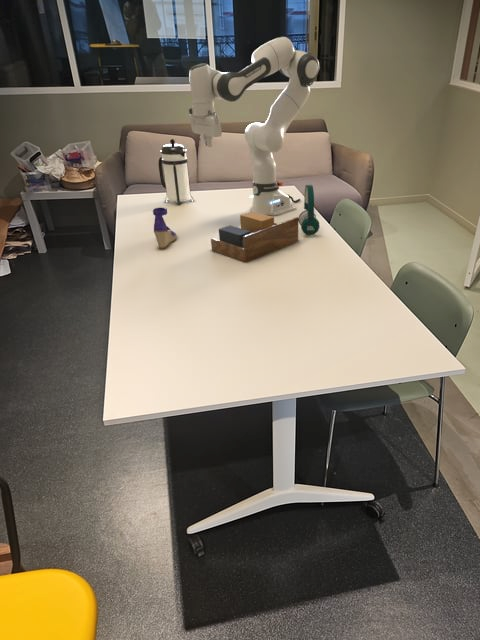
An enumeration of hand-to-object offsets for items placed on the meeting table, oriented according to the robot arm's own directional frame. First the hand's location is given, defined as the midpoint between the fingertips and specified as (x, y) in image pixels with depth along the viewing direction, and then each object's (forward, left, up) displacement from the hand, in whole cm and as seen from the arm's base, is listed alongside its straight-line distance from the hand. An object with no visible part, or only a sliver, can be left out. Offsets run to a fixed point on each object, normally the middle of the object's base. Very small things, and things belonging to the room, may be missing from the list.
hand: (208, 146), depth 216 cm
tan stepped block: (-2, +33, -33) cm, 47 cm away
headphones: (-26, +37, -33) cm, 56 cm away
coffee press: (-5, -44, -33) cm, 56 cm away
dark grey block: (+11, +37, -33) cm, 50 cm away
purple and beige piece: (+30, +8, -33) cm, 45 cm away
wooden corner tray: (+3, +36, -33) cm, 49 cm away
